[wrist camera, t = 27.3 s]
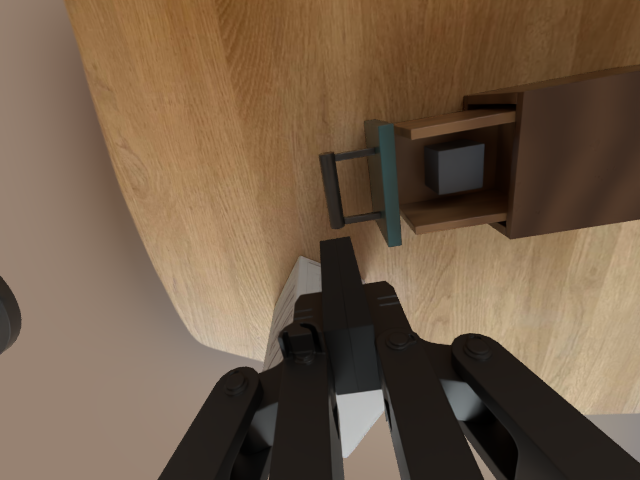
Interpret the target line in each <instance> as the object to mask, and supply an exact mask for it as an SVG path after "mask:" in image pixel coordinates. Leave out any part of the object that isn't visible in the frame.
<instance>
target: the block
mask: <svg viewBox="0 0 640 480" xmlns="http://www.w3.org/2000/svg"><path fill="white" fill-rule="evenodd" d="M484 146H485V144H484V143H480V142H476V141H471V140H467V139H460V140H455V141H449V142H443V143H438V144H432V145H427V146H424V168H425V185H426V186H427V187H429V188H430V189H431V190H433V191H434V192H436V193H437V194H438V195H443V194H449V193H455V192H460V191H466V190H472V189H478V188H483V168H484Z"/></svg>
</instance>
